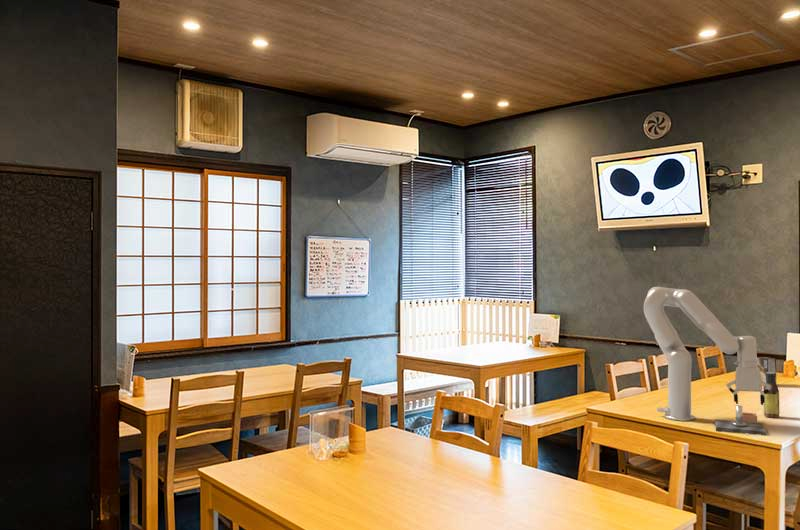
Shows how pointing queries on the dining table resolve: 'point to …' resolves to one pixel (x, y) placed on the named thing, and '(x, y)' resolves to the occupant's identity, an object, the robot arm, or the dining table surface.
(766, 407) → the sauce bottle
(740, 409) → the metal post
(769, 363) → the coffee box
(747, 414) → the square ring block
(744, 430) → the base plate
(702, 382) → the dining table surface
